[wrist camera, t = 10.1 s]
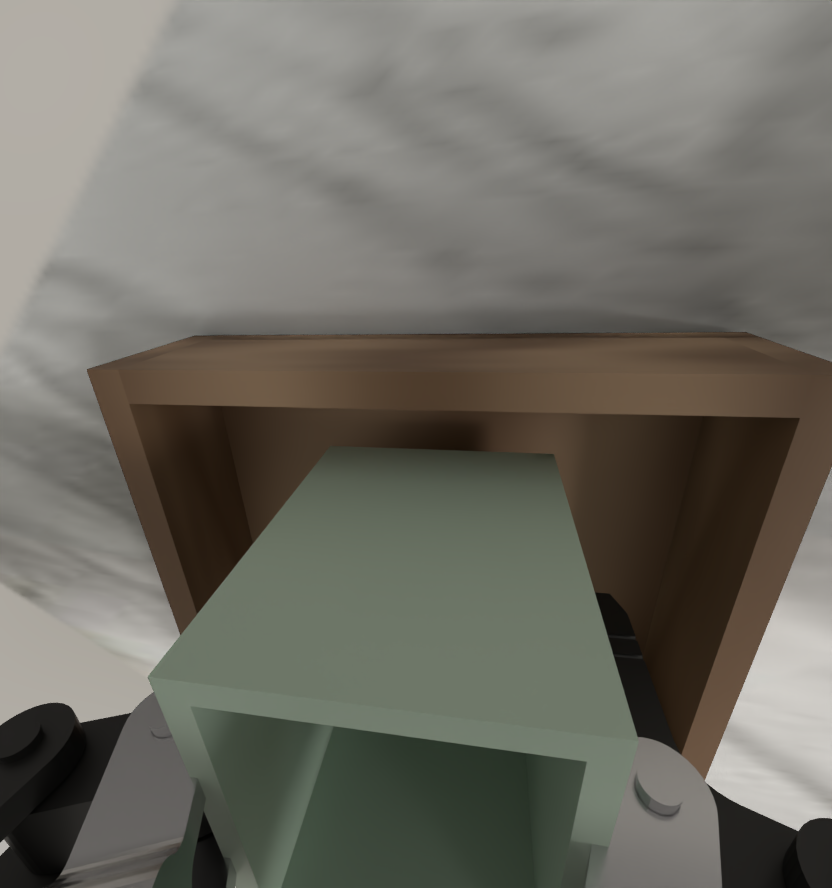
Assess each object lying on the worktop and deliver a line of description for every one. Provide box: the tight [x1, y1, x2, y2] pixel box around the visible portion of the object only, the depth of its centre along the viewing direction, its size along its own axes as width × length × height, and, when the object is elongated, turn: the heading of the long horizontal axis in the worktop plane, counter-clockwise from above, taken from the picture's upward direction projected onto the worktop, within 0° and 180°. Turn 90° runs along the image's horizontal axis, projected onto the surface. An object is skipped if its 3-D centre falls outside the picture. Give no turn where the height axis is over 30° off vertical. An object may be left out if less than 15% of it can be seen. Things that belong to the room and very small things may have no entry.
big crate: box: [87, 332, 832, 780], centre depth 11 cm, size 13×10×4 cm
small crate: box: [148, 446, 639, 888], centre depth 8 cm, size 5×6×6 cm
